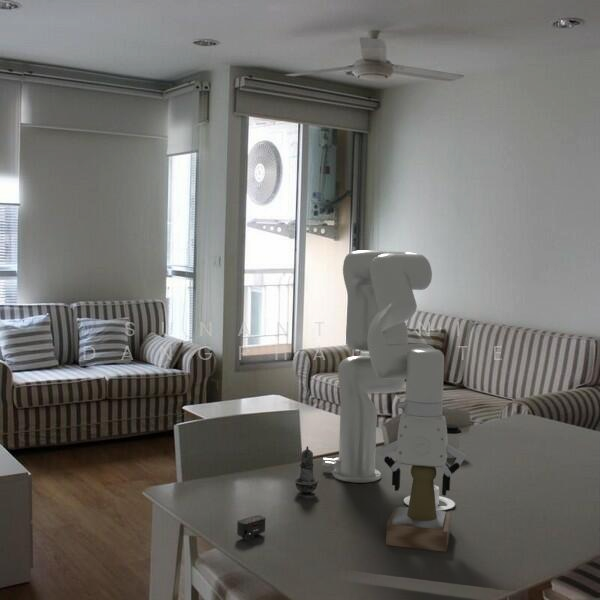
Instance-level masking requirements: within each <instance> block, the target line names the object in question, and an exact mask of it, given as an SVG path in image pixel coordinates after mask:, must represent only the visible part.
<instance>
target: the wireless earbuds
mask: <svg viewBox="0 0 600 600" xmlns="http://www.w3.org/2000/svg"><path fill="white" fill-rule="evenodd" d="M266 521H267V520H266V517H265V516H262V515H259V514H257V515H253V516H250V517H246V518H243V519H239V520H237V523H236V527H237V528H236V532H237V533H236V535H237V537H240V538H242V539H245V540H246V541H250V540H253V539H254V538H255V536H256V535H261V534H264V533H265V532H266Z"/></svg>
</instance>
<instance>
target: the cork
mask: <svg viewBox="0 0 600 600" xmlns="http://www.w3.org/2000/svg"><path fill="white" fill-rule="evenodd" d="M410 475H411V478H412V484H411V490H410V494H409V496H410V501H409V505H408V507H407V508H408V513H407V516H408V517H409V518H412V519H415V520H420V521H431V520H434V519H436V518H437V515H436V504H435V493H434V485H435V483H434V479H436V477H437V467H425V466H414V465H411V468H410Z"/></svg>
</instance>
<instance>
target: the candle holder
mask: <svg viewBox="0 0 600 600" xmlns="http://www.w3.org/2000/svg"><path fill="white" fill-rule="evenodd" d="M434 493H435V504H436V511H447V510H450V509H453V508H454V507H455V506H456V502H454V500H452V499H450V498H449V497H448V498H447V497H444V496H443V495H441V496H440V487H439V486H438V485H435V484H434ZM409 501H410V495H408V496H406V497H404V499H403V503H404V504H405V505H407V506H409ZM440 501H441V502H443V503H445V505H439V504H440Z"/></svg>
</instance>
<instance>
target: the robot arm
mask: <svg viewBox="0 0 600 600" xmlns="http://www.w3.org/2000/svg"><path fill="white" fill-rule="evenodd" d="M342 274H343V275H342V276H343V281H344V285H345V288H346V293H347V308H346V309H347V310H346V311H347V313H346V327H345V328H346V329H345V332H346V333H345V337H346V338H345V340H346V344H347V347H348V348H349V349H350V350H352V351H355V352H363V353H365V352H366V353H367V352H368V353H369V355H353V356H348V357H346V358H344V359H343V360H341V361H340V363H339V364H338V368H337V369H338V370H337V375H338V376H337V377H338V385H339V395H340V398H339V399H340V400H339V401H340V411H339V413H340V414H339V415H340V416H339V420H340V421H339V441H338V442H339V449H338V457H335V458H331V457H330V458H329V457H323V458H322V466H325V467H327V468H333V470H332V476H333V477H334V478H335V479H336V480H339V481H343V482H349V483H356V484H357V483H363V484H365V483H372V482H377V481H378V480H380V479H381V477H382V473H381V472H380V471H379V470H378V469H376V453H377V451H376V450H377V449H376V448H377V447H376V446H377V426H378V424H377V420H378V419H377V418H378V412H377V407H376V405H375V403H374V402H373V401H372V400H371V398H370V397H369V394H375V393H377V394H379V393H380V394H381V393H382V394H383V393H387V394H388V393H390V394H391V393H397V392H400V391H401V390H402V389H403V387H404V385H405V400H403V401H398V403H397V407H398V409H401V410H403V411H404V412H403V413H401V415H400V417H399V422H398V428H397V439H396V440H395V441H393V442H390V443H387V444H386V445H382V446H381V447H379V452H380V455H381V457H382V458H383V460H384V461H383V462H384V463H386V465H387V466H388V467H389V468H390V470H391V472H392V473H391V474H392V475H391V477H392V478H391V486H394V491H396V492H398V491H399V490H400V488H401V469H400V467H401V466H402V465H405V466H406V465H407V466H413V465H414V466H425V467H435V468H440V470H441V471H442V472H443V474H442V485H441V487H442V488H441V489H442V490H441V496H442V497H444V496H446V495H447V491H448V492H450V489H451V476H452V475H453V474H454V473H455V472H456V471H457V470H459V468H460V467H461V465H462V463H463V462H464V460H465V459H466V455H465V453H464V452H462V451H460V450H459V449H458V450H457V449H455V448H453V447H452V446H450V445H448V444H447V426H446V424H447V420H446V416H444V415H443V406H444V405H443V401H444V397H443V396H444V379H445V378H444V374H445V355H444V353H443V351H441V350H440V349H436V348H434V347H433V346H432V345H431V344H426V343H409V336H408V335H409V332H408V326H407V323H406V322H405V321H408V320H409V319H411V318H412V317H413V316H414V315H415V313H416V310H417V302H416V299H415V294H414V291H415V290H416V291H423V290H426V289H428V287H429V286H430V284H431V283H432V279H433V271H432V266H431V264H430V261H429V260H428V258H426V256H425V255H423V254H419V253H414V252H409V251H396V250H395V251H393V250H392V251H391V250H373V249H372V250H370V249H368V250H367V249H365V250H355V251H352V252H349V253H348V254H346V256H345V257H344V260H343V265H342ZM395 449H396V456H395V457H396V460H394V459H393V457H391V456H390V453H389V452H390V451H393V450H395ZM447 452H448V453H450V454H451V455H453V456H455V457H456V459H455V461H454V462H453V463H452V464H451V465H450V464H449V463H448V462H447V459H448V458H447Z"/></svg>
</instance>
